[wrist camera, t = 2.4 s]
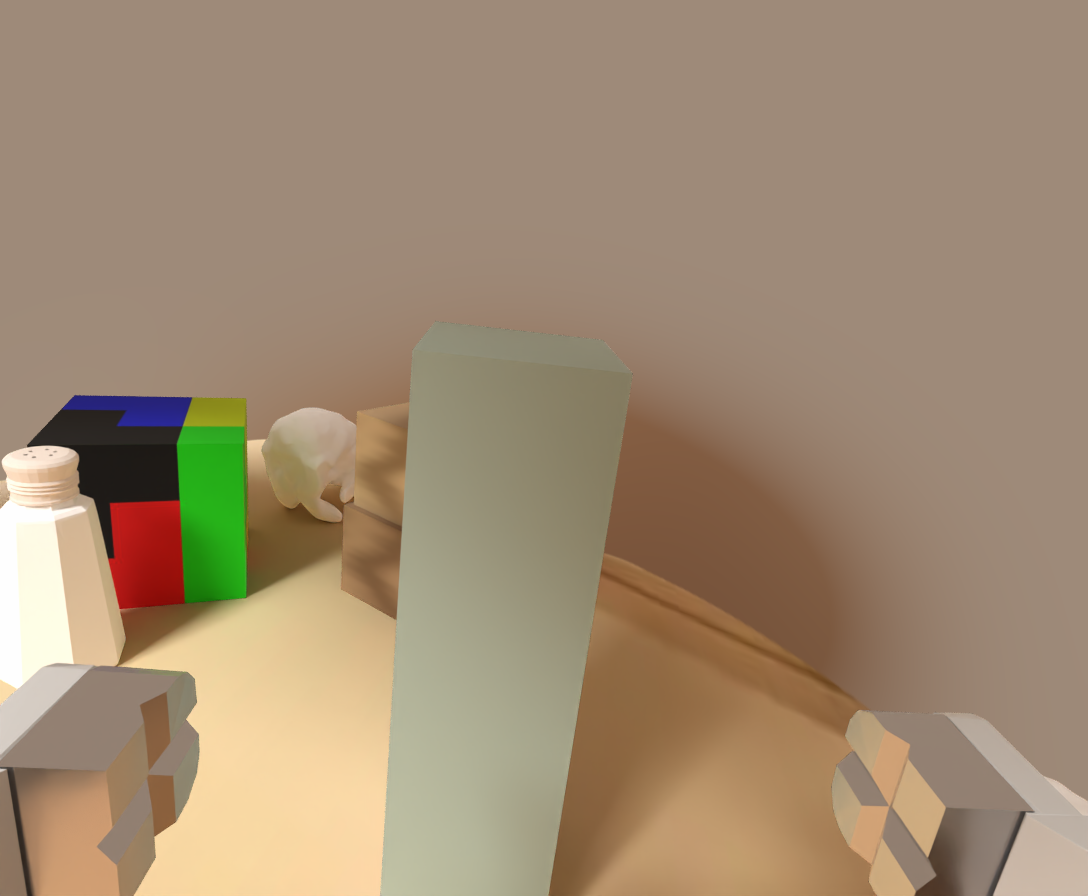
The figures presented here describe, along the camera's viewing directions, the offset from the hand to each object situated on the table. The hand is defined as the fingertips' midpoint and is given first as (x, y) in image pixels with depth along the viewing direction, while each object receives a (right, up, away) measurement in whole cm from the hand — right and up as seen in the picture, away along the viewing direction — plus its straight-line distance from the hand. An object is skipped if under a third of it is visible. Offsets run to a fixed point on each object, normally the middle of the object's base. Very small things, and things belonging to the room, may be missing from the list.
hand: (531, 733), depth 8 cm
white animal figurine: (-17, -1, +47) cm, 50 cm away
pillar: (-3, -12, +17) cm, 21 cm away
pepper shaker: (-24, -7, +25) cm, 36 cm away
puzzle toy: (-25, -4, +35) cm, 43 cm away
